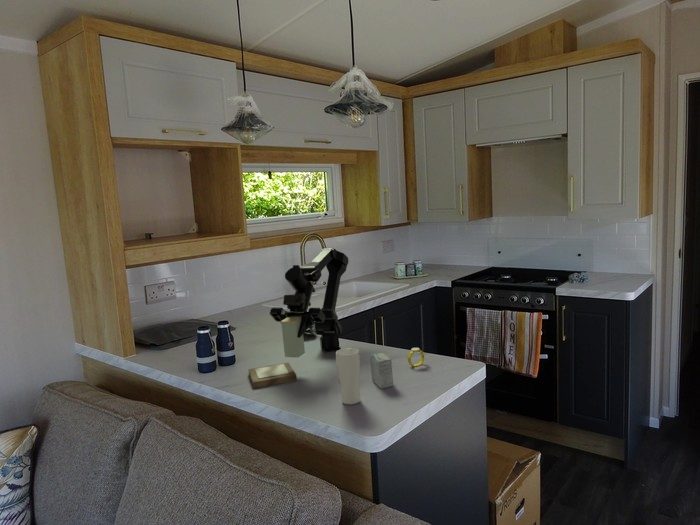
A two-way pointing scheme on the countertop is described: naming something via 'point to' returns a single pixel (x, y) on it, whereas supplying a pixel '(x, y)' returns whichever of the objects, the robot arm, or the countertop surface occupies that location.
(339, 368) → the drinking glass
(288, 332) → the tea tin
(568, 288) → the countertop surface
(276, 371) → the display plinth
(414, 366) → the watch
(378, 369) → the medicine box
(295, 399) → the countertop surface
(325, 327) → the robot arm
